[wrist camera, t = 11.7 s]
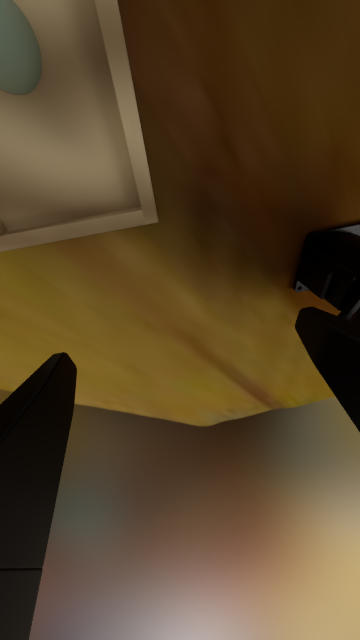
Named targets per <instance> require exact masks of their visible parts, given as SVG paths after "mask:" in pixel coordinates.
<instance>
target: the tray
mask: <svg viewBox="0 0 360 640" xmlns="http://www.w3.org/2000/svg"><path fill="white" fill-rule="evenodd" d="M13 1H14V2H15V3H16V5H17V6H18V7H19V8H20V10H21V11H22V12H23V14H24V15H25V17H26V18H27V20H28V22H29V23H30V25H31V27H32V29H33V31H34V34H35V36H36V39H37V42H38V45H39V48H40V53H41V59H42V72H41V77H40V80H39V83H38V85H37V86H36V88H35V89H34V90H33V91H31V92H30V93H28V94H24V95H15V94H11V93H9V92H6V91H4V90H2V89H0V252H2V251H7V250H13V249H18V248H23V247H29V246H34V245H39V244H45V243H50V242H55V241H61V240H66V239H71V238H77V237H82V236H88V235H93V234H98V233H104V232H109V231H114V230H120V229H125V228H130V227H136V226H141V225H146V224H152V223H157V222H158V217H157V211H156V206H155V201H154V195H153V190H152V184H151V179H150V174H149V168H148V163H147V158H146V152H145V147H144V141H143V136H142V131H141V125H140V120H139V114H138V109H137V104H136V98H135V93H134V88H133V82H132V77H131V71H130V66H129V61H128V55H127V50H126V45H125V39H124V34H123V28H122V23H121V18H120V12H119V7H118V2H117V0H13Z"/></svg>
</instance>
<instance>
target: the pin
mask: <svg viewBox="0 0 360 640" xmlns="http://www.w3.org/2000/svg"><path fill="white" fill-rule="evenodd" d="M41 72H42V59H41V53H40V48H39V45H38V42H37V39H36V36H35V34H34V31H33V29H32V27H31V25H30V23H29V22H28V20H27V18H26V17H25V15H24V14H23V12H22V11H21V10H20V8H19V7H18V6H17V5H16V3H15V2H14V1H13V0H0V89H2V90H4V91H6V92H9V93H11V94H15V95H24V94H28V93H30V92H31V91H33V90H34V89H35V88H36V86H37V85H38V83H39V80H40V77H41Z"/></svg>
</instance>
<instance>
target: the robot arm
mask: <svg viewBox="0 0 360 640" xmlns="http://www.w3.org/2000/svg"><path fill="white" fill-rule="evenodd" d="M313 236H314V237H313ZM312 237H313V239H312V240H311V238H312ZM298 287H299V288H298ZM293 289H294V290H295V291H296V292H301V291H306V290H310V291H311V292H313V293H314V294H315V295H316V296H318V297H319V298H320V299H325V300H326V301H327V302H329V303H330V304H331V305H332V306H334V307H335V308H336V309H337V310H339V311H341V310H342V311H341V312H340V313H339V315H338V316H336V315H333V314H331V313H328V312H325V311H323V310H320V309H317V308H315V307H307V308H302V309H301V310H300V311H299V314H298V317H297V320H296V323H295V329H296V331H297V333H298V335H299V337H300V339H301V341H302V343H303V345H304V347H305V348H306V350H307V352H308V354H309V356H310V358H311V360H312V361H313V363H314V365H315V366H316V368H317V369H318V371H319V372H320V374H321V375H322V377H323V378H324V380H325V381H326V383H327V384H328V386H329V387H330V389H331V390H332V392H333V393H334V395H335V396H336V398H337V399H338V401H339V402H340V404H341V405H342V407H343V408H344V410H345V411H346V413H347V414H348V415H349V417H350V419H351V420H352V421H353V423H354V424H355V426H356V427H357V429H358V430H359V432H360V223H357V224H352V225H347V226H342V227H336V228H331V229H326V230H321V231H316V232H312V233H310V234H308V236H307V237H306V240H305V244H304V248H303V252H302V256H301V260H300V263H299V267H298V271H297V275H296V279H295V283H294V287H293ZM76 377H77V368H76V365H75V364H74V362H73V361H72V360H71V358H70V357H69V355H68V354H67V353H65V352H62V353H57V354H53V355H52V356H51V357H50V358H49V359H48V360H47V361H46V362H45V363H43V364H42V365H41V366H40V367H39V368H38V369H37V370H36V371H35V372H34V373H33V374H32V375H31V376H30V377H29V378H28V379H27V380H26V381H25V382H23V383H22V384H21V385H20V386H19V387H18V388H17V389H16V390H15V391H14V392H13V393H12V394H11V395H10V396H9V397H8V398H7V399H6V400H5V401H3V402H2V404H0V640H29V636H30V631H31V626H32V621H33V616H34V610H35V605H36V600H37V595H38V590H39V585H40V580H41V575H42V567H43V564H44V558H45V553H46V549H47V543H48V538H49V533H50V528H51V523H52V518H53V513H54V508H55V502H56V497H57V492H58V487H59V482H60V477H61V472H62V467H63V462H64V457H65V452H66V447H67V442H68V437H69V431H70V427H71V421H72V416H73V410H74V401H75V389H76Z"/></svg>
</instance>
